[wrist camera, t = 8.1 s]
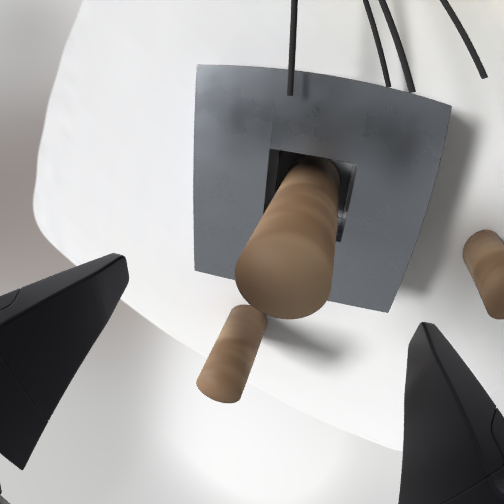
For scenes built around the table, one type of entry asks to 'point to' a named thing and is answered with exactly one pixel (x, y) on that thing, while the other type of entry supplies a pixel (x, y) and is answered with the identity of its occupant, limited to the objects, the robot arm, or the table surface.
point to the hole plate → (321, 145)
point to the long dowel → (293, 244)
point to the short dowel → (487, 269)
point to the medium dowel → (233, 355)
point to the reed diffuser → (379, 47)
